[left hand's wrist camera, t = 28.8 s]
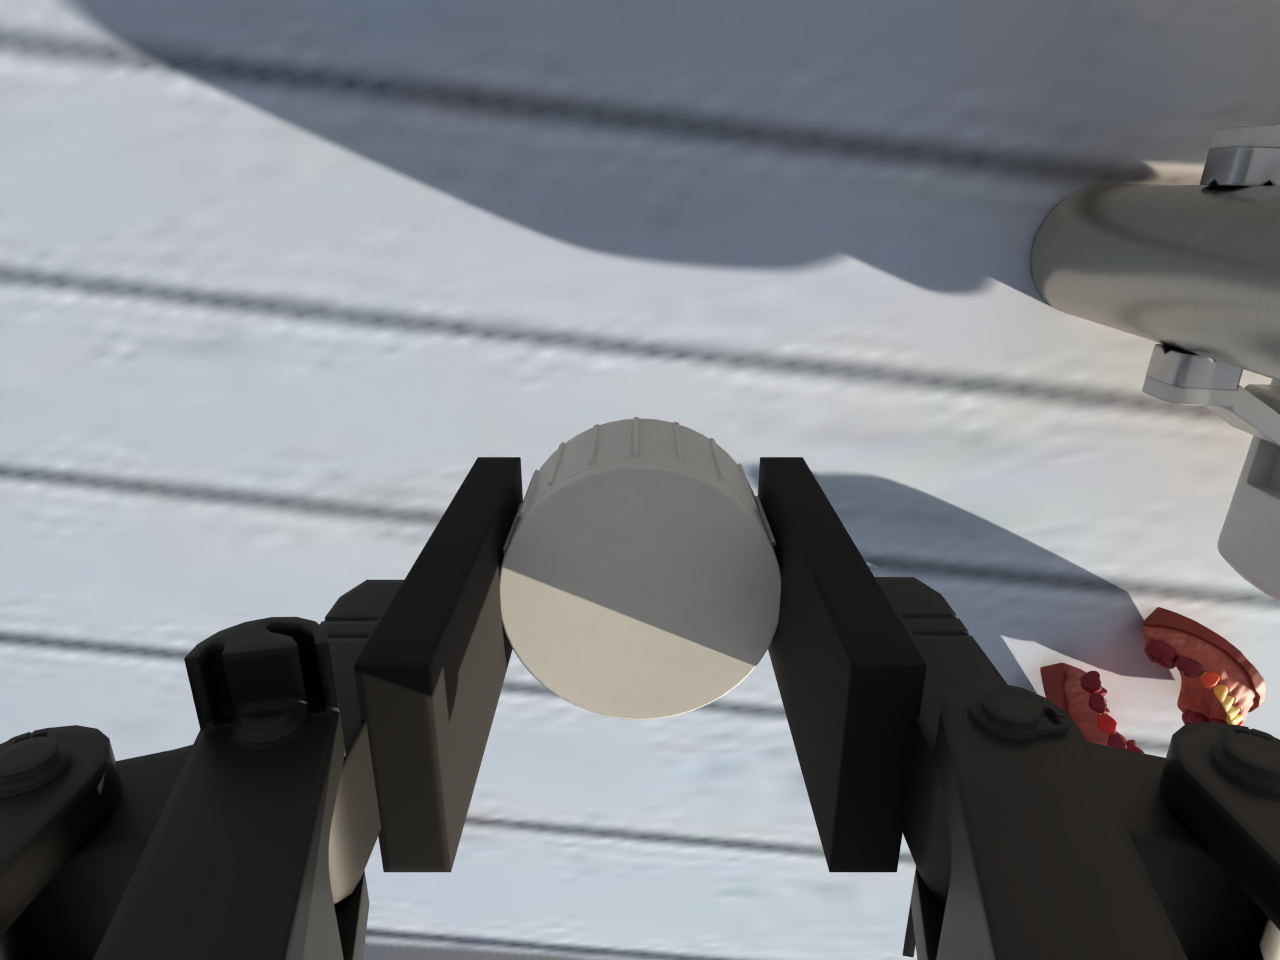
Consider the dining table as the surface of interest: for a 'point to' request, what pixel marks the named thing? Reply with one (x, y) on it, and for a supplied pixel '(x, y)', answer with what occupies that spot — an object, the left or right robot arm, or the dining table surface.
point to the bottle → (1170, 266)
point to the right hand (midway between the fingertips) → (1187, 271)
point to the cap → (640, 572)
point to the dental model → (1206, 662)
